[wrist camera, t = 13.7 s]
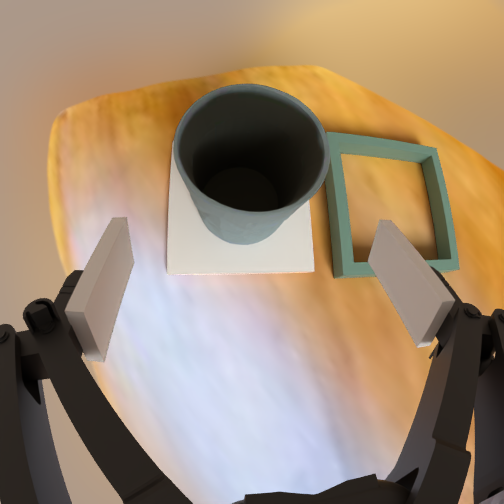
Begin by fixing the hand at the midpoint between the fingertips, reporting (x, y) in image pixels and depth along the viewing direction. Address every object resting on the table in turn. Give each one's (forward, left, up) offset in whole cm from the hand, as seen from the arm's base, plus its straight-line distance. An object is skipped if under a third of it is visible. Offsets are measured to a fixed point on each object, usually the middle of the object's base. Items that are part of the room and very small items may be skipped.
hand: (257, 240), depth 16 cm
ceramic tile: (0, -7, -15) cm, 16 cm away
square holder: (-17, -7, -15) cm, 24 cm away
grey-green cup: (0, -7, -14) cm, 16 cm away
